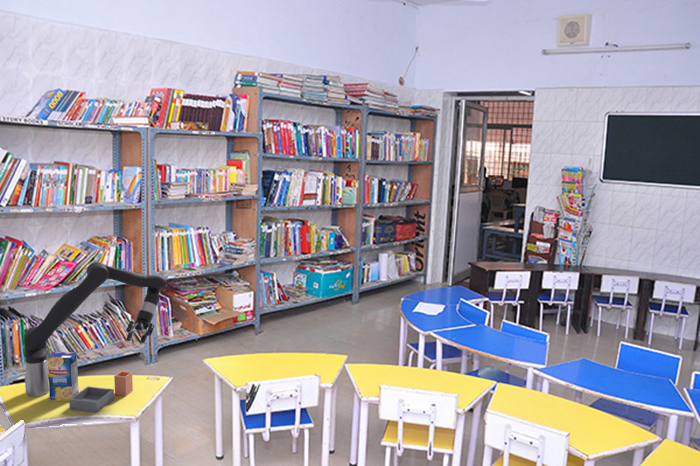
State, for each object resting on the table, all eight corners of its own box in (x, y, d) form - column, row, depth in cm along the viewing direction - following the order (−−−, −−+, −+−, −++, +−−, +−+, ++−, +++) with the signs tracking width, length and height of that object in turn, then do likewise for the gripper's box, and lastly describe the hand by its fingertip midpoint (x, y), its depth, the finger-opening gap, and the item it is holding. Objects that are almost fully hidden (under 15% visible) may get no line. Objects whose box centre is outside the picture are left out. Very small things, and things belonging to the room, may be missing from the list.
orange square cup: (115, 394, 281) (114, 376, 279) (121, 389, 287) (121, 371, 285) (126, 396, 280) (125, 377, 278) (132, 390, 286) (132, 372, 284)
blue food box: (72, 400, 274) (70, 357, 270) (49, 400, 273) (46, 357, 269) (78, 394, 280) (76, 352, 276) (56, 393, 280) (53, 351, 276)
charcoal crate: (69, 409, 266) (69, 399, 265) (88, 395, 279) (87, 386, 278) (96, 412, 263) (96, 402, 262) (114, 398, 277) (113, 389, 276)
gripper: (131, 308, 294) (119, 337, 287) (153, 310, 289) (142, 340, 282) (139, 313, 300) (128, 342, 293) (161, 316, 296) (150, 345, 288)
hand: (134, 341), depth 288 cm, fingers open, 8 cm apart
